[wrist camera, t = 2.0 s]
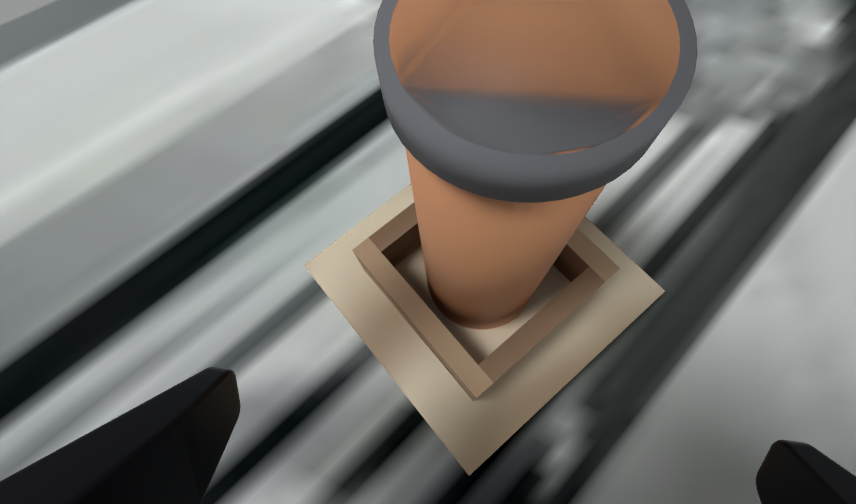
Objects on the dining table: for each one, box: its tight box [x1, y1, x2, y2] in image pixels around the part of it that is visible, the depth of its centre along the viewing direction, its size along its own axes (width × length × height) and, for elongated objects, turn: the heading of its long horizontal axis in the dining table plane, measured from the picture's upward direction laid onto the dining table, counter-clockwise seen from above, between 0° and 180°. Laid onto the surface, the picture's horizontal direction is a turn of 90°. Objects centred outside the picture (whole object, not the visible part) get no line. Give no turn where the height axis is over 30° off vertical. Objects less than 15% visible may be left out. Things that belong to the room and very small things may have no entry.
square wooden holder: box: [304, 184, 665, 475], centre depth 19 cm, size 11×11×4 cm
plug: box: [373, 0, 697, 330], centre depth 14 cm, size 5×5×14 cm
